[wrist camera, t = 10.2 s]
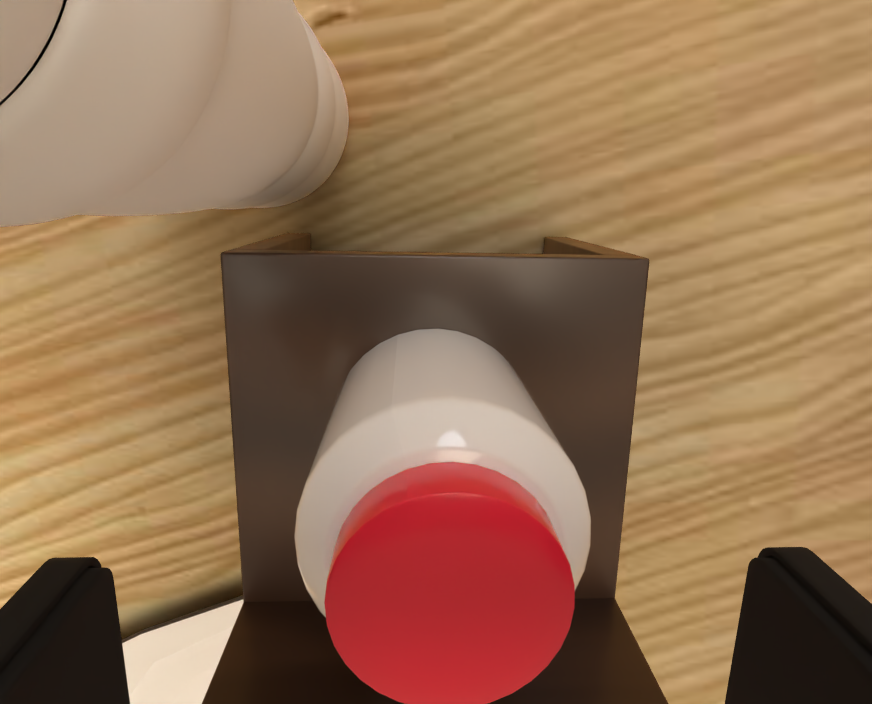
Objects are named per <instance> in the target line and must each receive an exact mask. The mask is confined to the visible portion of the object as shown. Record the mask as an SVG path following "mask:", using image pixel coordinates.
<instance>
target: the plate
mask: <svg viewBox="0 0 872 704" xmlns="http://www.w3.org/2000/svg"><path fill="white" fill-rule="evenodd" d="M243 602H244V601H243V595H242V596H239V597H236V598H233V599H230V600H227V601H225V602H222V603H219V604H216V605H213V606H210V607H207V608H204V609H201V610H198V611H195V612H192V613H190V614H187V615H184V616H181V617H178V618H175V619H172V620H169V621H166V622H163V623H160V624H157V625H155V626H152V627H149V628H146V629H143V630H141V631H139V632H137V633H135V634H133V635H131V636H129V637H127V638H124V639H122V647H123V654H124V662H125V669H126V677H127V684H128V692H129V699H130V704H202V702H203V699H204V697H205V695H206V692H207V690H208V687H209V685H210V682H211V680H212V678H213V675H214V673H215V670H216V668H217V665H218V663H219V661H220V658H221V656H222V653H223V651H224V648H225V646H226V644H227V641H228V639H229V636H230V634H231V631H232V629H233V627H234V624H235V622H236V619H237V617H238V615H239V612H240V610H241V607H242V605H243Z"/></svg>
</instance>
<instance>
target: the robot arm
mask: <svg viewBox="0 0 872 704" xmlns="http://www.w3.org/2000/svg"><path fill="white" fill-rule="evenodd" d="M0 704H130V699H129V692H128V684H127V677H126V669H125V662H124V654H123V647H122V639H121V632H120V624H119V617H118V609H117V602H116V594H115V587H114V579H113V575H112V572H111V570H110V569H109V568H101V564H100V562H99V561H98V559H96V558H94V557H80V558H52V559H49V560H48V561H46V562H45V563H44V564H43V565H42V566H41V567H40V568H39V569H38V570H37V571H36V572H35V573H34V574H33V575H32V576H31V578H30V579H29V580H28V581H27V582H26V583H25V584H24V585H23V586H22V587H21V588H20V589H19V590H18V591H17V592H16V593H15V594H14V595H13V596H12V597H11V599H10V600H9V601H8V602H7V603H6V604H5V605H4V606H3V607H2V608H1V609H0ZM725 704H872V604H871V603H870V602H869V601H867V600H866V599H865V598H864V597H863V596H862V595H861V594H860V593H858V592H857V591H856V590H855V589H854V588H853V587H852V586H851V585H849V584H848V583H847V582H846V581H845V580H844V579H843V578H842V577H840V576H839V575H838V574H837V573H836V572H835V571H834V570H832V569H831V568H830V567H829V566H828V565H827V564H826V563H825V562H823V561H822V560H821V559H820V558H819V557H818V556H817V555H816V554H814V553H813V552H812V551H810V550H809V549H807V548H803V547H773V548H765V549H763V550H762V551H761V552H760V554H759V556H758V558H754V559H752V560H751V561H750V563H749V566H748V571H747V577H746V583H745V589H744V595H743V601H742V606H741V612H740V618H739V624H738V630H737V636H736V641H735V647H734V653H733V659H732V665H731V671H730V676H729V682H728V688H727V694H726V700H725Z"/></svg>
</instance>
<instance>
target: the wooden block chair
mask: <svg viewBox="0 0 872 704" xmlns="http://www.w3.org/2000/svg"><path fill="white" fill-rule="evenodd" d="M648 269H649V259H647V258H644V257H640V256H636V255H633V254H629V253H625V252H621V251H618V250H614V249H610V248H606V247H602V246H598V245H594V244H591V243H587V242H583V241H579V240H575V239H571V238H568V237H545V241H544V254H503V253H437V252H371V251H311V234H310V233H286V234H282V235H279V236H275V237H272V238H269V239H265V240H262V241H258V242H255V243H252V244H248V245H245V246H241V247H238V248H235V249H231V250H228V251H225V252H222V253H221V270H222V285H223V300H224V315H225V330H226V345H227V360H228V375H229V390H230V405H231V421H232V436H233V451H234V466H235V481H236V496H237V511H238V526H239V541H240V556H241V571H242V586H243V601H244V602H243V605H242V607H241V610H240V612H239V615H238V617H237V619H236V622H235V624H234V627H233V629H232V631H231V634H230V636H229V639H228V641H227V644H226V646H225V648H224V651H223V653H222V656H221V658H220V661H219V663H218V665H217V668H216V670H215V673H214V675H213V678H212V680H211V682H210V685H209V687H208V690H207V692H206V695H205V697H204V699H203V702H202V704H405V703H401V702H398V701H396V700H394V699H391V698H389V697H387V696H385V695H383V694H380V693H378V692H377V691H375V690H374V689H373V688H371V687H370V686H368V685H367V684H366V683H364V682H363V681H361V680H360V679H359V678H358V677H357V676H356V675H355V674H354V673H353V672H352V671H351V669H350V668H349V667H348V666H347V665H346V664H345V663H344V661H343V660H342V658H341V656H340V655H339V653H338V651H337V650H336V648H335V647H334V644H333V642H332V639H331V636H330V633H329V630H328V627H327V623H326V618H325V617H324V615H323V614H322V613H321V612H320V611H319V609H318V608H317V606H316V604H315V603H314V601H313V599H312V598H311V596H310V595H309V593H308V591H307V590H306V587H305V584H304V581H303V578H302V575H301V573H300V570H299V567H298V563H297V555H296V546H295V538H294V534H295V524H296V514H297V508H298V504H299V501H300V498H301V495H302V492H303V489H304V486H305V483H306V480H307V477H308V475H309V472H310V469H311V466H312V464H313V461H314V458H315V456H316V453H317V450H318V447H319V445H320V442H321V439H322V436H323V434H324V431H325V428H326V425H327V423H328V420H329V417H330V414H331V412H332V409H333V406H334V403H335V401H336V398H337V395H338V392H339V390H340V387H341V385H342V384H343V382H344V380H345V378H346V377H347V375H348V373H349V372H350V370H351V369H352V368H353V366H354V365H355V364H356V363H357V362H358V361H359V360H360V359H361V358H362V356H363V355H365V354H366V353H367V352H369V351H370V350H371V349H373V348H374V347H375V346H377V345H378V344H379V343H381V342H383V341H386V340H388V339H390V338H392V337H394V336H396V335H398V334H402V333H406V332H410V331H414V330H420V329H445V330H452V331H458V332H461V333H464V334H467V335H470V336H473V337H476V338H478V339H480V340H481V341H483V342H485V343H486V344H488V345H490V346H492V347H493V348H494V349H496V350H497V351H498V352H499V353H500V354H501V355H502V356H503V357H505V358H506V359H507V360H508V361H509V363H510V364H511V365H512V367H513V368H514V369H515V371H516V372H517V373H518V375H519V376H520V378H521V379H522V381H523V383H524V384H525V386H526V388H527V389H528V391H529V392H530V394H531V396H532V397H533V399H534V401H535V402H536V404H537V406H538V407H539V409H540V410H541V412H542V414H543V415H544V417H545V419H546V420H547V422H548V423H549V425H550V427H551V428H552V430H553V432H554V433H555V435H556V437H557V438H558V440H559V441H560V443H561V445H562V446H563V448H564V450H565V451H566V453H567V455H568V456H569V458H570V459H571V461H572V463H573V465H574V467H575V469H576V471H577V473H578V476H579V478H580V480H581V482H582V484H583V487H584V489H585V491H586V496H587V501H588V506H589V511H590V516H591V539H590V549H589V554H588V558H587V562H586V567H585V571H584V573H583V575H582V577H581V579H580V582H579V584H578V586H577V588H576V590H575V604H574V612H573V617H572V621H571V625H570V629H569V631H568V633H567V636H566V638H565V640H564V642H563V644H562V646H561V648H560V650H559V651H558V652H557V654H556V655H555V657H554V658H553V659H552V661H551V662H550V663H549V665H548V666H547V667H546V668H545V669H544V670H543V671H542V672H540V673H539V674H538V675H537V676H536V677H535V678H534V679H533V680H532V681H531V682H529V683H528V684H526V685H524V686H523V687H521V688H520V689H518V690H517V691H515V692H513V693H512V694H510V695H507V696H505V697H503V698H500V699H498V700H496V701H493V702H491V703H487V704H668V702H667V700H666V698H665V697H664V695H663V693H662V691H661V689H660V687H659V685H658V683H657V681H656V679H655V677H654V675H653V673H652V671H651V669H650V667H649V665H648V663H647V661H646V659H645V657H644V655H643V653H642V651H641V649H640V647H639V645H638V643H637V641H636V639H635V637H634V636H633V634H632V632H631V630H630V628H629V626H628V624H627V622H626V620H625V618H624V616H623V614H622V612H621V610H620V608H619V606H618V604H617V602H616V600H615V590H616V580H617V570H618V561H619V551H620V541H621V532H622V522H623V512H624V502H625V493H626V483H627V473H628V463H629V454H630V444H631V434H632V425H633V415H634V405H635V395H636V386H637V376H638V366H639V356H640V347H641V337H642V327H643V317H644V308H645V298H646V288H647V279H648Z"/></svg>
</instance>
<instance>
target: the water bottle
mask: <svg viewBox="0 0 872 704" xmlns="http://www.w3.org/2000/svg"><path fill="white" fill-rule="evenodd" d="M348 125H349V114H348V104H347V98H346V94H345V90H344V87H343V84H342V81H341V79H340V76H339V74H338V72H337V70H336V68H335V66H334V65H333V63H332V61H331V59H330V58H329V56H328V55H327V54H326V52H325V51H324V49H323V48H322V47H321V45H320V43H319V41H318V39H317V37H316V36H315V34H314V32H313V31H312V29H311V28H310V26H309V25H308V23H307V22H306V20H305V19H304V18H303V17H302V15H301V14H300V13H299V12H298V11H297V8H296V6H295V4H294V2H293V0H0V227H7V226H20V225H30V224H37V223H43V222H49V221H53V220H58V219H62V218H66V217H70V216H74V215H95V216H144V215H164V214H175V213H186V212H194V211H201V210H207V209H212V208H214V209H245V208H271V207H278V206H283V205H287V204H290V203H293V202H295V201H298V200H300V199H302V198H304V197H306V196H308V195H309V194H311V193H312V192H314V191H315V190H316V189H317V188H319V187H320V186H321V185H322V184H323V183H324V182H325V181H326V180H327V179H328V177H329V176H330V175H331V173H332V172H333V171H334V169H335V168H336V166H337V164H338V162H339V160H340V158H341V156H342V153H343V151H344V147H345V144H346V140H347V134H348Z"/></svg>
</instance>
